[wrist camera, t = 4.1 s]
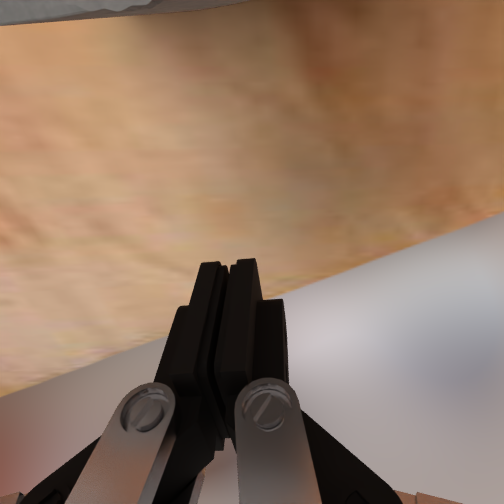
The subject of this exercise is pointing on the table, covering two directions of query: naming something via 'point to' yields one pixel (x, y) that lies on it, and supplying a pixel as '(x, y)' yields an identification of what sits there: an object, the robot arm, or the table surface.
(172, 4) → the hip flask
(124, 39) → the table surface
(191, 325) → the robot arm
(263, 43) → the table surface
